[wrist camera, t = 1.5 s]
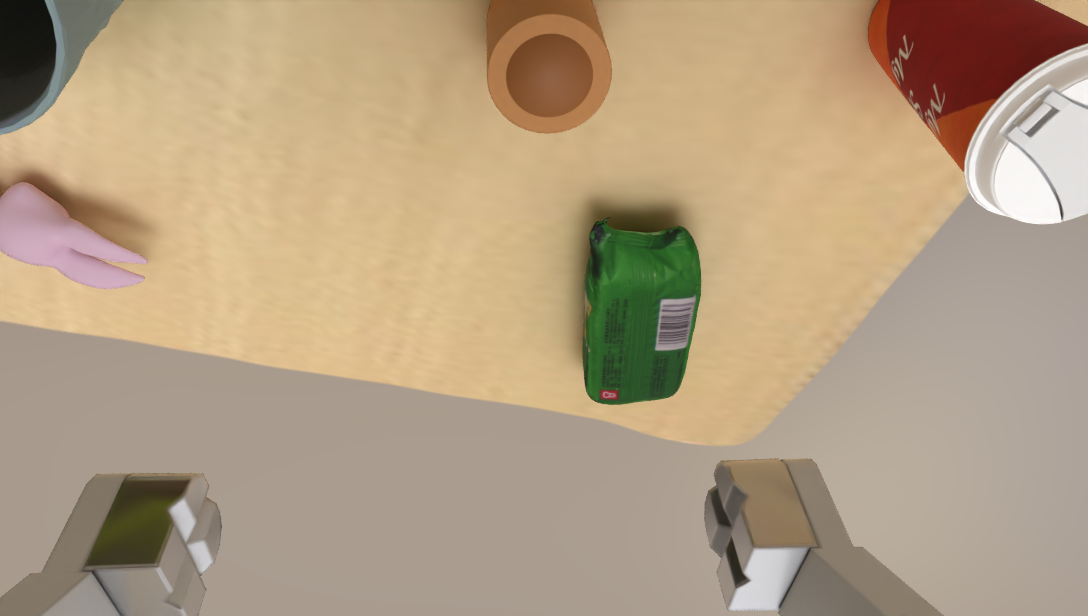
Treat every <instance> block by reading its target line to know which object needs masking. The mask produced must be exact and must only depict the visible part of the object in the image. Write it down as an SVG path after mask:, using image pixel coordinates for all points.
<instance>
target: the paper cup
mask: <svg viewBox="0 0 1088 616" xmlns="http://www.w3.org/2000/svg"><path fill="white" fill-rule="evenodd" d="M868 40H869V45H870V48H871V51H872V53H873V55H874V56H875V58H876V60H877V61H878V63H879V64H880V65H881V67H882V68H883V69H884V71H885V72H886V74H887V75H888V76H889V78H890V79H891V80H892V82H893V83H894V84H895V85H896V87H897V88H898V89H899V91H900V92H901V93H902V95H903V96H904V97H905V98H906V100H907V101H908V102H909V104H910V105H911V106H912V107H913V109H914V110H915V111H916V112H917V114H918V115H919V116H920V118H921V119H922V120H923V121H924V123H925V124H926V125H927V127H928V128H929V129H930V130H931V132H932V133H933V134H934V135H935V137H936V138H937V139H938V140H939V142H940V143H941V144H942V146H943V147H944V148H945V149H946V151H947V152H948V153H949V154H950V156H951V157H952V158H953V159H954V161H955V162H956V163H957V165H958V166H959V167H960V168H961V170H962V171H963V172H964V176H965V181H966V186H967V188H968V190H969V192H970V194H971V196H972V197H973V198H974V199H975V200H976V202H977V203H978V204H980V205H981V206H983V207H984V208H985V209H987V210H989V211H991V212H993V213H996V214H1000V215H1004V216H1009V217H1011V218H1013V219H1016V220H1018V221H1022V222H1027V223H1033V224H1051V223H1059V222H1062V221H1067V220H1070V219H1073V218H1076V217H1079V216H1082V215H1084V214H1087V213H1088V26H1086V25H1084V24H1082V23H1080V22H1078V21H1076V20H1074V19H1072V18H1070V17H1068V16H1066V15H1064V14H1061V13H1059V12H1057V11H1055V10H1053V9H1051V8H1049V7H1047V6H1045V5H1043V4H1041V3H1039V2H1037V1H1035V0H879V2H878V3H877V5H876V7H875V9H874V11H873V13H872V16H871V19H870V23H869V28H868Z"/></svg>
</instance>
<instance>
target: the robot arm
mask: <svg viewBox="0 0 1088 616" xmlns="http://www.w3.org/2000/svg"><path fill="white" fill-rule="evenodd" d="M714 477H715V481H716V484H717V485H716V486H715V487H713V488H712V489H710V490H709V491H708V494H707V497H706V501H705V518H704V519H705V527H706V533H707V537H708V541H709V545H710V547H711V548H712V549H713V550H714V551H715V552H716V553H717V554H718V555H719V556H720V557H721V558H722V559H721V561H720V564H719V567H718V570H717V575H718V579H719V582H720V586H721V590H722V593H723V597H724V601H725V604H726V608H727V610H779V612H778V613H779V614H780V615H781V616H944V615H942V614H941V613H940V612H939V611H938V610H937V609H935V608H934V607H933V606H932V605H931V604H929V603H928V602H927V601H926V600H924V599H923V598H922V597H921V596H920V595H919V594H918V593H916V592H915V591H914V590H913V589H912V588H910V587H909V586H908V585H907V584H906V583H905V582H903V581H902V580H901V579H900V578H899V577H897V576H896V575H895V574H894V573H893V572H892V571H890V570H889V569H888V568H887V567H886V566H884V565H883V564H882V563H881V562H880V561H879V560H877V559H876V558H875V557H874V556H873V555H871V554H870V553H869V552H868V551H867V550H866V549H864V548H863V547H853V544H852V542H851V540H850V538H849V536H848V533H847V531H846V529H845V527H844V524H843V522H842V520H841V518H840V515H839V513H838V511H837V509H836V506H835V504H834V502H833V500H832V498H831V495H830V493H829V491H828V488H827V486H826V484H825V482H824V479H823V477H822V475H821V473H820V470H819V469H818V466H817V464H816V463H815V462H814V461H813V460H812V459H781V460H779V459H754V460H727V461H720V462H719V463H718V464H717V466H716V469H715V472H714ZM208 488H209V484H208V482H207V480H206V478H205V476H204V474H203V473H112V474H111V473H110V474H96V475H95V476H94V477H93V478H92V479H91V480H90V481H89V482H88V483H87V484H86V486H85V488H84V490H83V492H82V494H81V496H80V497H79V499H78V502H77V503H76V505H75V507H74V509H73V511H72V513H71V515H70V517H69V519H68V521H67V523H66V525H65V527H64V529H63V531H62V533H61V535H60V537H59V539H58V541H57V543H56V545H55V547H54V549H53V551H52V553H51V555H50V556H49V558H48V561H47V563H46V564H45V566H44V568H43V570H42V572H41V573H31V574H29V575H28V576H27V577H26V578H24V579H23V580H22V581H21V582H19V583H18V584H17V585H16V586H14V587H13V588H12V589H10V590H9V591H8V592H7V593H5V594H4V595H3V596H2V597H1V598H0V616H198V615H199V611H200V608H201V605H202V602H203V599H204V595H205V592H206V588H205V586H204V584H203V581H202V579H201V577H200V576H201V575H202V574H203V573H204V572H205V571H206V570H207V569H208V568H209V567H210V566H212V565H213V564H214V563H215V560H216V556H217V553H218V550H219V546H220V538H221V528H222V524H221V516H220V512H219V509H218V506H217V504H216V503H215V502H213V501H211V500H210V499H209V498H207V497H206V494H207V491H208Z"/></svg>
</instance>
